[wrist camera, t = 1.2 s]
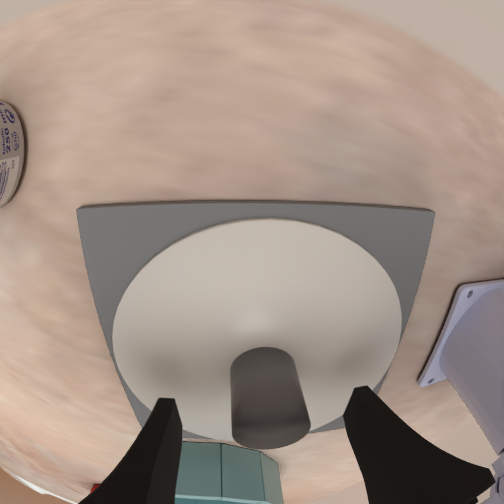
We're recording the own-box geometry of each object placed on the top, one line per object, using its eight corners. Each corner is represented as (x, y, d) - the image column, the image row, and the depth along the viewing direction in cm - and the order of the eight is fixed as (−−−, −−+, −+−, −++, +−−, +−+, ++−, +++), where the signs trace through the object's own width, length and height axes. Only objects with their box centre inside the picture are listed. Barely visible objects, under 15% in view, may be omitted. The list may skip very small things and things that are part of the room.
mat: (429, 209, 11) (435, 211, 11) (360, 418, 17) (362, 423, 16) (81, 206, 10) (76, 209, 9) (146, 428, 16) (144, 434, 15)
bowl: (283, 440, 17) (292, 492, 13) (271, 489, 21) (275, 524, 17) (119, 434, 16) (108, 482, 12) (156, 486, 20) (152, 520, 16)
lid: (425, 222, 11) (487, 258, 7) (357, 421, 16) (375, 467, 12) (88, 220, 10) (28, 264, 6) (150, 431, 15) (141, 482, 11)
